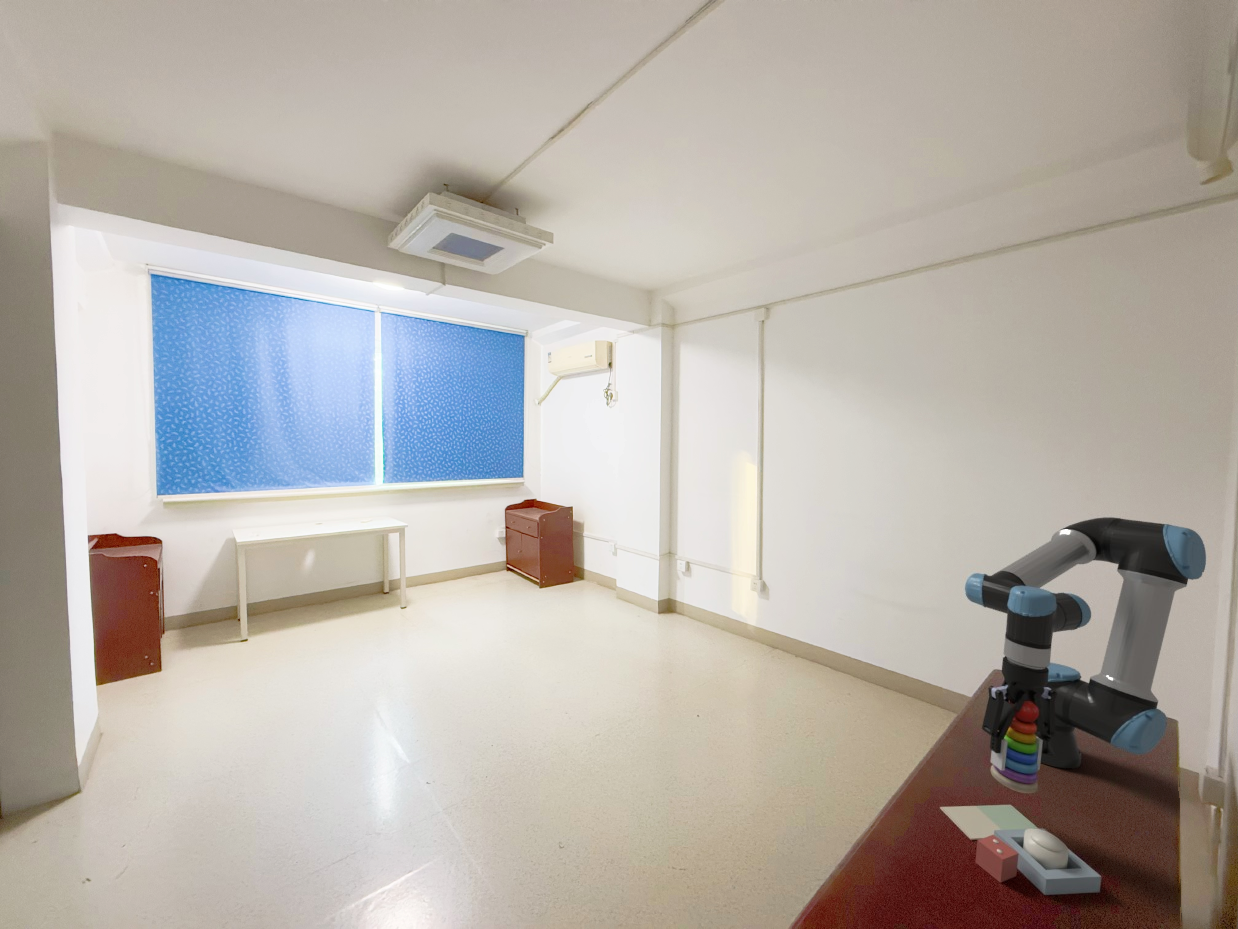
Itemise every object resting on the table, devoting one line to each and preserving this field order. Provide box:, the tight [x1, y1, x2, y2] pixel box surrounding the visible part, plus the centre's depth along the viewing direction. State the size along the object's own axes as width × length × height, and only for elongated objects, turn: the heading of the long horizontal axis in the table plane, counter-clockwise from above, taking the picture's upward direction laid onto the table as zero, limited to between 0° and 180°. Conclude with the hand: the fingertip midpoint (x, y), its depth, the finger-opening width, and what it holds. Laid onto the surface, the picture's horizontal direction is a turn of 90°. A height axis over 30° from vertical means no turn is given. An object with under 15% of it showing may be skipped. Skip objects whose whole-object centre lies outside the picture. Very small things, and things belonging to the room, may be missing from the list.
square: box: [939, 805, 1001, 841], centre depth 105 cm, size 8×8×1 cm
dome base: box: [994, 827, 1102, 896], centre depth 95 cm, size 11×11×3 cm
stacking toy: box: [990, 701, 1039, 794], centre depth 105 cm, size 8×8×19 cm
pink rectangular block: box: [974, 835, 1019, 883], centre depth 94 cm, size 4×4×5 cm
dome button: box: [1023, 828, 1069, 870], centre depth 95 cm, size 6×6×5 cm
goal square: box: [975, 804, 1039, 830], centre depth 106 cm, size 8×8×1 cm
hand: (1014, 765), depth 105 cm, fingers closed on stacking toy, 7 cm apart
